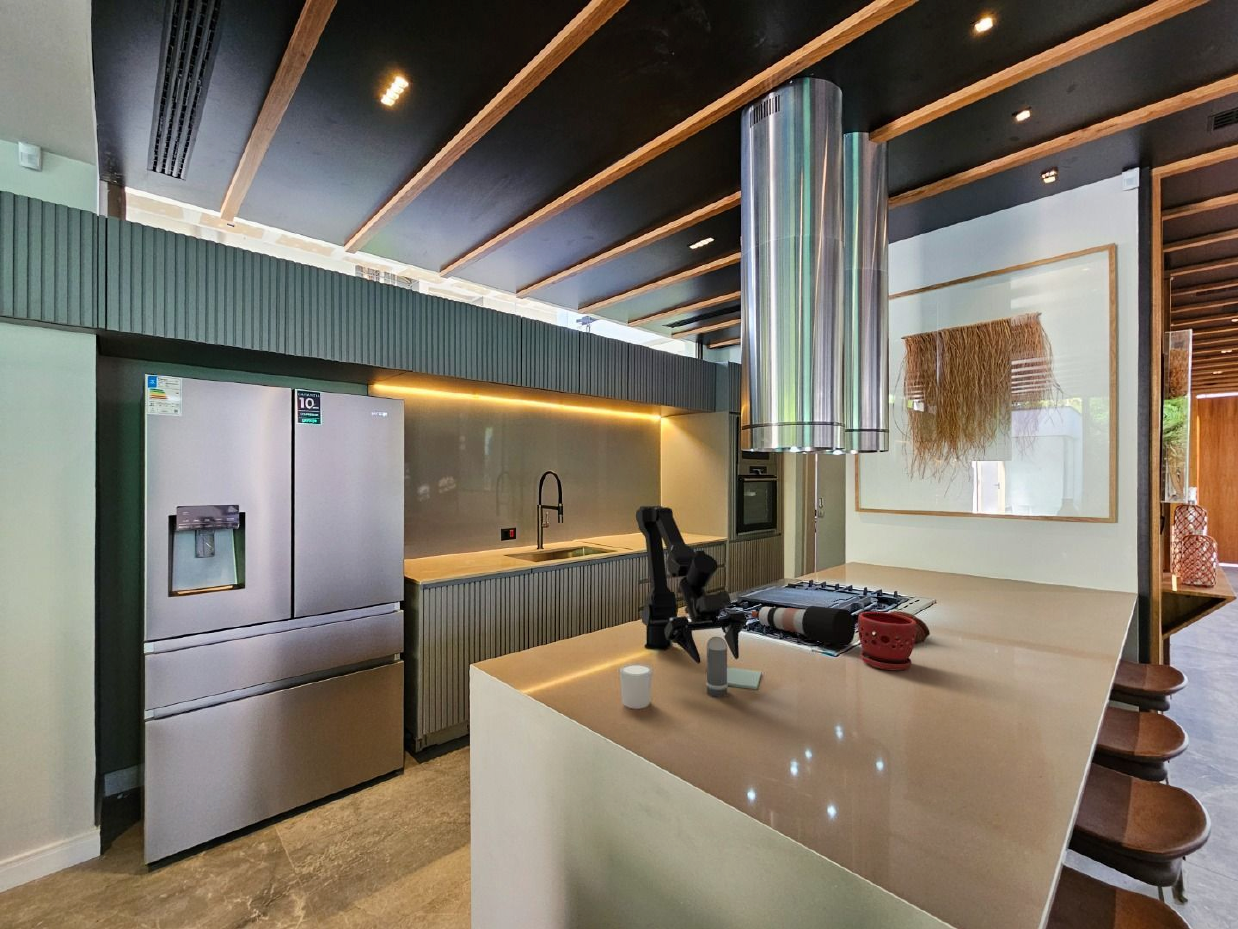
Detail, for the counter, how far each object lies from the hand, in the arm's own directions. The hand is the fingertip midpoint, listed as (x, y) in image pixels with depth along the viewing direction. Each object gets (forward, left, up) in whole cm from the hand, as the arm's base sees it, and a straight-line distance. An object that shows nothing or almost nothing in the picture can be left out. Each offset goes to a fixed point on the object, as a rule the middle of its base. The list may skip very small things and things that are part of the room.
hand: (718, 660), depth 118 cm
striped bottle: (+14, +53, -8) cm, 55 cm away
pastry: (+43, +60, -8) cm, 74 cm away
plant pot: (+37, +34, -8) cm, 50 cm away
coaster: (+3, +11, -7) cm, 13 cm away
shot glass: (-15, -10, -7) cm, 20 cm away
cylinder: (0, +1, -7) cm, 7 cm away
